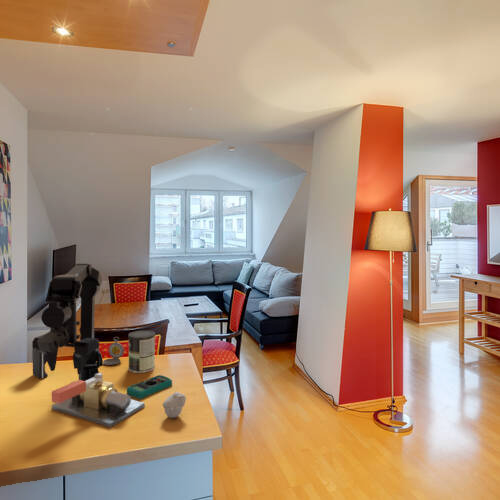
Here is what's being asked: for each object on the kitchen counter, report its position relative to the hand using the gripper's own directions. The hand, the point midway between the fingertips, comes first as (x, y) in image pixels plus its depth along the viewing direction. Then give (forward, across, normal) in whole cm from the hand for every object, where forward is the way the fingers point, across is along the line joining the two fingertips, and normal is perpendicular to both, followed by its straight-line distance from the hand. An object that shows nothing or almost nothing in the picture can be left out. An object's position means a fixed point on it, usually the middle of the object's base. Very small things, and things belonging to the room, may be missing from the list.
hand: (66, 372), depth 109 cm
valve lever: (+5, +4, +1) cm, 7 cm away
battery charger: (+13, -31, +24) cm, 41 cm away
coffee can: (+13, +1, +41) cm, 43 cm away
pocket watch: (+13, -14, +44) cm, 48 cm away
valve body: (+13, +6, +8) cm, 16 cm away
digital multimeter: (+14, +14, +24) cm, 31 cm away
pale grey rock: (+14, +30, +9) cm, 34 cm away
